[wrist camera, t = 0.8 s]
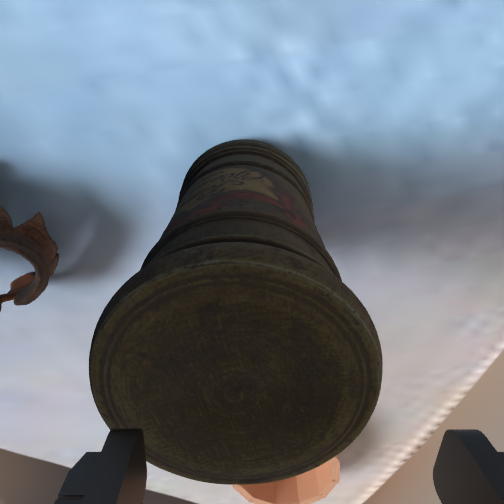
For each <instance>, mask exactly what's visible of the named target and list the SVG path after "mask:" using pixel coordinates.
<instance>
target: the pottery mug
mask: <svg viewBox="0 0 504 504" xmlns="http://www.w3.org/2000/svg"><path fill="white" fill-rule="evenodd" d="M0 247H1V248H5V249H8V250H12V251H14V252H16V253H18V254H20V255H22V256H23V257H24V258H26V259H27V260H28V261H29V262H30V263H31V264H32V265H33V266H34V268H35V273H36V274H35V275H34V274H33V273H27V274H25V275H23V276H21V277H19V278H17V279H15V280H14V281H13V282H12V283H11V286H10V287H11V290H10V291H9V292H8V293H7V294H2V295H0V311H1V307H2V306H1V304H2V302H5V301H10V300H13V299H14V304H15V305H27V304H29V303H31V302H32V301H34V300H35V299H36V298H38V297H39V295H40V294H41V293H42V292H43V291H44V290H45V288H46V287H47V285H48V281H49V278H50V276H51V275H52V274H53V273H54V271H55V269H56V267H57V265H58V261H59V254H58V253H57V249H58V248H57V246H56V244H55V242H54V241H53V240H52V239H51V237H50V236H49V234H48V232H47V230H46V227H45V223H44V219H43V217H42V215H41V213H40V212H37V213H36V215H35V216H34V217H33V218H32V219H30V220H28V221H26V222H25V223H23V224H21V225H19V226H17V227H15V228H13V226H12V220H11V217H10V216H9V215H8V213H7V212H6V211H5V210H4V209H3V208H2V207H1V206H0Z"/></svg>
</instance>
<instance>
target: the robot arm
mask: <svg viewBox="0 0 504 504" xmlns="http://www.w3.org/2000/svg"><path fill="white" fill-rule="evenodd" d="M146 479H147V466H146V456H145V445H144V435H143V430H142V429H141V428H113V429H111V430H110V432H109V434H108V436H107V439H106V441H105V444H104V446H103V449H102V451H101V452H86V453H85V454H84V456H83V457H82V458H81V459H80V460H79V461H78V462H77V463H76V464H75V466H74V467H73V468H72V469H71V470H70V471H69V473H68V475H67V477H66V479H65V481H64V483H63V486H62V488H61V490H60V492H59V494H58V499H57V500H56V501H55V503H54V504H142V503H143V499H144V494H145V488H146ZM433 480H434V485H435V489H436V492H437V494H438V496H439V499H440V500H441V503H442V504H504V452H497V451H496V450H495V448H494V447H493V446H492V444H491V443H490V442H489V440H488V439H487V437H486V436H485V435H484V434H483V433H482V432H481V431H479V430H447V431H446V432H445V434H444V437H443V440H442V443H441V446H440V449H439V452H438V455H437V459H436V462H435V465H434V469H433Z"/></svg>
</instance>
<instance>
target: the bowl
mask: <svg viewBox="0 0 504 504" xmlns="http://www.w3.org/2000/svg"><path fill="white" fill-rule="evenodd" d="M339 479H340V460H339V456H338V455H336V456H335V457H334V458H332V459H330V460H329V461H327V462H326V463H324V464H322V465H320V466H318V467H316V468H314V469H312V470H310V471H308V472H305V473H302V474H300V475H297V476H294V477H291V478H288V479H284V480H280V481H275V482H270V483H261V484H248V485H234V484H232V485H233V488H234V489H235V490H236V491H238V492H239V493H240V494H241V495H242V496H243V497H244V498H245V499H247V500H248V501H249V502H252V503H255V504H311V503H313V502H315V501H318V500H320V499H323V498H325V497H326V496H327V495H328V494H329V492H330V491H331V490H332V489H333V488H334V487H335V486H336V485H337V483H338V482H339Z"/></svg>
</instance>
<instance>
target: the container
mask: <svg viewBox="0 0 504 504" xmlns="http://www.w3.org/2000/svg"><path fill="white" fill-rule="evenodd" d="M89 378H90V385H91V391H92V395H93V398H94V401H95V404H96V406H97V409H98V411H99V413H100V415H101V416H102V418H103V420H104V421H105V423H106V425H107V426H108V427H109V429H110V430H111V429H113V428H141V429H142V430H143V435H144V445H145V456H146V461H147V462H149V463H151V464H153V465H155V466H157V467H159V468H161V469H163V470H166V471H168V472H171V473H173V474H177V475H179V476H182V477H186V478H189V479H193V480H197V481H202V482H208V483H216V484H234V485H248V484H261V483H270V482H275V481H280V480H284V479H288V478H291V477H294V476H297V475H300V474H302V473H305V472H308V471H310V470H312V469H314V468H316V467H318V466H320V465H322V464H324V463H326V462H327V461H329V460H330V459H332V458H334V457H335V456H336V455H338V454H339V453H340V452H342V451H343V450H344V449H345V448H346V447H347V446H348V445H349V444H351V443H352V442H353V441H354V440H355V438H356V437H357V436H358V435H359V434H360V433H361V431H362V430H363V429H364V427H365V426H366V424H367V423H368V421H369V419H370V417H371V415H372V413H373V411H374V409H375V406H376V404H377V401H378V397H379V393H380V389H381V381H382V352H381V346H380V342H379V338H378V334H377V331H376V329H375V326H374V324H373V322H372V320H371V318H370V315H369V314H368V312H367V310H366V309H365V307H364V306H363V304H362V303H361V302H360V301H359V299H358V298H357V297H356V295H355V294H354V293H353V292H352V291H351V290H350V289H349V288H348V287H347V286H346V285H345V284H344V283H343V282H342V280H341V277H340V274H339V272H338V269H337V267H336V265H335V263H334V261H333V260H332V258H331V256H330V255H329V253H328V252H327V250H326V249H325V246H324V244H323V242H322V239H321V237H320V235H319V233H318V231H317V229H316V226H315V224H314V216H313V208H312V200H311V196H310V190H309V187H308V184H307V181H306V179H305V177H304V175H303V173H302V171H301V170H300V168H299V167H298V166H297V164H296V163H295V162H294V161H293V160H292V159H291V158H290V157H289V156H288V155H286V154H285V153H284V152H282V151H281V150H279V149H277V148H275V147H273V146H271V145H269V144H266V143H263V142H259V141H254V140H233V141H228V142H224V143H221V144H219V145H217V146H214V147H213V148H211V149H209V150H207V151H206V152H205V153H203V154H202V155H201V156H200V157H199V158H198V159H197V160H196V161H195V162H194V163H193V165H192V166H191V167H190V169H189V171H188V172H187V174H186V177H185V179H184V182H183V185H182V188H181V191H180V195H179V201H178V204H177V207H176V211H175V213H174V215H173V217H172V219H171V221H170V223H169V224H168V226H167V228H166V229H165V231H164V232H163V234H162V236H161V238H160V240H159V241H158V242H157V243H156V245H155V246H154V247H153V248H152V249H151V251H150V252H149V254H148V255H147V257H146V259H145V260H144V262H143V265H142V267H141V269H140V271H139V272H138V273H136V274H135V275H134V276H132V277H131V278H130V279H129V280H128V281H127V282H126V283H125V284H124V285H123V286H122V287H121V288H120V289H119V290H118V291H117V292H116V293H115V295H114V296H113V297H112V298H111V300H110V301H109V303H108V304H107V306H106V307H105V309H104V310H103V312H102V314H101V316H100V318H99V321H98V323H97V325H96V328H95V331H94V335H93V338H92V343H91V349H90V356H89Z"/></svg>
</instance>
